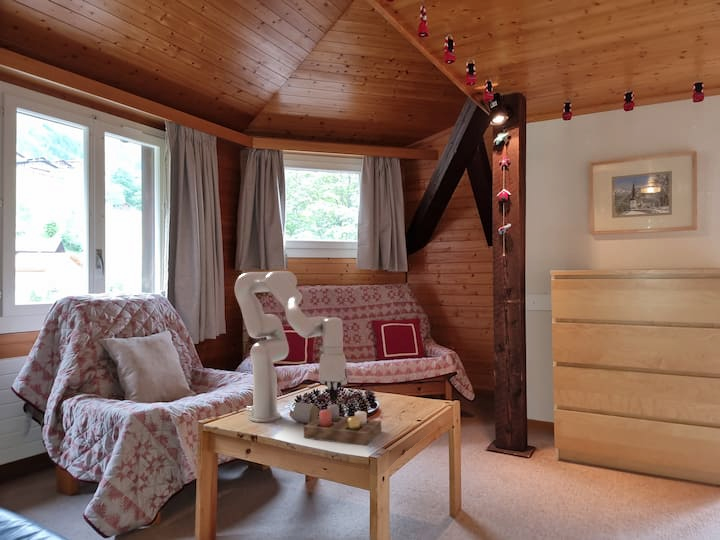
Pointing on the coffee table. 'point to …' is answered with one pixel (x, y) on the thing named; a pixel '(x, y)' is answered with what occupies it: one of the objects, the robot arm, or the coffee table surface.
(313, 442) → the coffee table surface
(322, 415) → the pink cylinder
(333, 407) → the gray block
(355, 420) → the gold round piece
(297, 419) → the ceramic mug
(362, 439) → the box
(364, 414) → the cream white block
